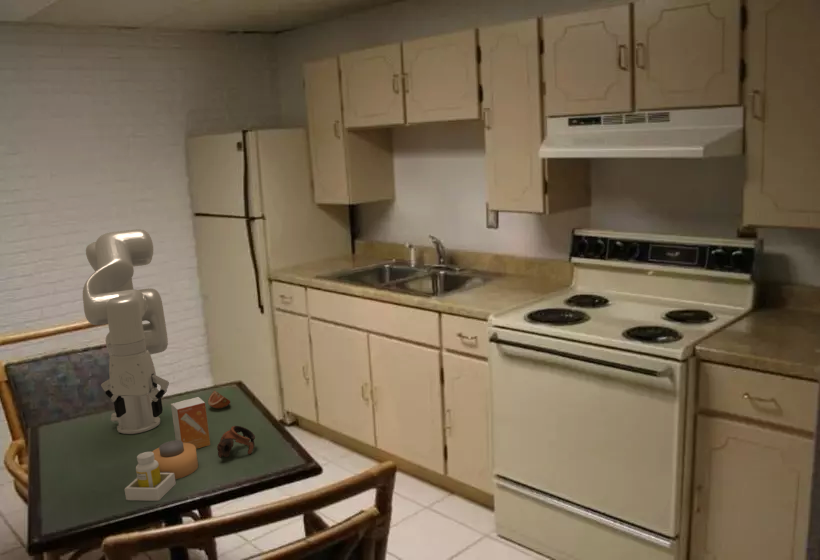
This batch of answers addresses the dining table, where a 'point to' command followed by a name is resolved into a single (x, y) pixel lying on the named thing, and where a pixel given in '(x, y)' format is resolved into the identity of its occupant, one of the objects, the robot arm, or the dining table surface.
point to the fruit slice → (218, 400)
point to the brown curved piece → (229, 436)
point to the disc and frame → (166, 470)
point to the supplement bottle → (148, 470)
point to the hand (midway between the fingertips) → (139, 415)
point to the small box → (191, 422)
